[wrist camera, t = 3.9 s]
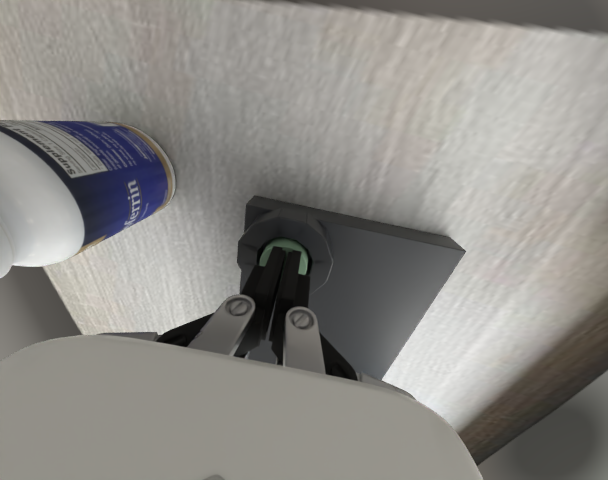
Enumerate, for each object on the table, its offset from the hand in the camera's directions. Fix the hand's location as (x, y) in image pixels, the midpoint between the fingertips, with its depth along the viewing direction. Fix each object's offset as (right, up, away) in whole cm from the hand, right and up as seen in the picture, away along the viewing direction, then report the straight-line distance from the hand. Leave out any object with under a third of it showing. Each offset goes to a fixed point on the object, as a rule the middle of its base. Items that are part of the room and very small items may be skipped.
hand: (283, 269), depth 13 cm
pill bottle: (-10, +7, +2) cm, 12 cm away
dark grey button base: (+3, -4, +6) cm, 8 cm away
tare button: (0, +1, +1) cm, 2 cm away
